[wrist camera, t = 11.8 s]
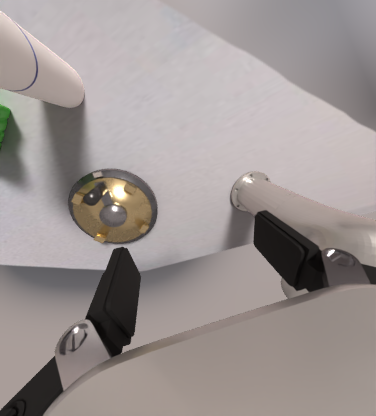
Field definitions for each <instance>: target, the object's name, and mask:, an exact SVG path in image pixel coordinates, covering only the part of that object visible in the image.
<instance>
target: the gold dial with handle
mask: <svg viewBox="0 0 376 416" xmlns="http://www.w3.org/2000/svg"><path fill="white" fill-rule="evenodd" d="M71 202H73V212H74V215H75V218H76V220H77V222H78V223H79V225H80V226H81V227H82V228H83V229H84V230H85V231H86V232H87V233H89V234H90V235H92V236H94V237H95V238H94V240H95V241H98V242H101V243H103V242H104V241H108V242H125V241H129V240H132V239H134V238H136V237H138V236H140V235H141V234H142V233H144V234H145V232H146V231H147V229H148V228H149V224H150V221H151V215H152V208H151V204H150V201H149V199H148V197H147V196H146V194H145V193H144V192H143V191H142V190H141V189H140V188H139V187H138V186H136V185H135V184H133V183H131V182H129V181H127V180H124V179H121V178H115V177H104V178H98V179H95V180H93V181H91V182H89V183H87V184H86V185H84V186H83V187H82V188H81V189H80V190H79V191H78V192H76V193H75V195H74V197H73V199H72V201H71Z"/></svg>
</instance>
